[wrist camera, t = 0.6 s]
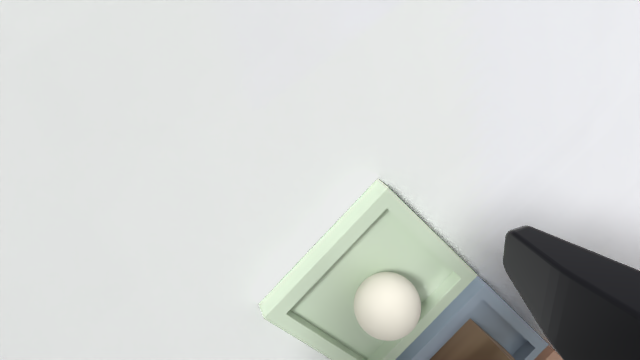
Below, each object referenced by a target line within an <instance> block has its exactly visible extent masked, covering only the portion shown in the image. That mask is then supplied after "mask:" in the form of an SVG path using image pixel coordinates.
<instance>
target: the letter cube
mask: <svg viewBox="0 0 640 360" xmlns="http://www.w3.org/2000/svg"><path fill="white" fill-rule="evenodd" d="M430 360H515V359H514V358H513V357H512V356H511V355H510V354H509V353H508V352H507V351H506V350H505V348H504V347H502V346H501V345H500V344H499V343H498V342H497V341H496V340H494V339H493V338H492V337H491V336H490V335H489V334H488V333H486V332H485V331H484V330H483V329H482V328H481V327H480V326H478V325H477V324H476V323H475V322H474V321H473V320H472V319H469V320H468V321H467V322H466V323H465V324H464V325H463V326H462V327H461V328H460V329H459V330H458V331H457V332H456V333H455V334H454V335H453V336H452V337H451V338H450V339H449V340H448V341H447V342H446V343H445V344H444V345H443V346H442V347H441V348H440V349H439V351H438V352H437V353H436V354H435V355H434V356H433V357H432V358H431V359H430Z"/></svg>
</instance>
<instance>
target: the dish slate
mask: <svg viewBox="0 0 640 360" xmlns="http://www.w3.org/2000/svg"><path fill="white" fill-rule="evenodd" d="M469 319H472V320H473V321H474V322H475V323H476V324H477V325H478V326H480V327H481V328H482V329H483V330H484V331H485V332H486V333H488V334H489V335H490V336H491V337H492V338H493V339H494V340H496V341H497V342H498V343H499V344H500V345H501V346H502V347H504V348H505V350H506V351H507V352H508V353H509V354H510V355H511V356H512V357H513V358H514V359H515V360H534V359H535V358H536V357H537V356H538V355H539V354H540V353H541V352H542V351H543V350H544V349H545V348H546V347H547V346H548V345H549V344H548V343H547V342H546V341H545V340H544V339H543V338H541V337H540V336H539V335H538V334H537V333H536V332H535V331H534V330H533V329H532V328H531V327H530V326H529V325H528V324H527V323H526V322H525V321H524V320H523V319H522V318H521V317H520V316H519V315H518V314H517V313H516V312H515V311H514V310H513V309H512V308H511V307H510V306H509V305H508V304H507V303H506V302H505V301H504V300H503V299H502V298H501V297H500V296H499V295H498V294H497V293H496V292H495V291H494V290H493V289H491V288H490V287H489V286H488V285H487V284H486V283H485V282H484V281H483V280H482V279H481V278H480V277H479V276H477V277H476V278H475V279H474V280H473V281H472V282H471V283H470V284H469V285H468V286H467V287H466V288H465V289H464V290H463V291H462V292H461V293H460V294H459V295H458V296H457V297H456V298H455V299H454V300H453V301H452V302H451V303H450V304H449V305H448V306H447V307H446V308H445V309H444V310H443V311H442V312H441V313H440V314H439V316H438V317H437V318H436V319H435V320H434V321H433V322H432V323H431V324H430V325H429V326H428V327H427V328H426V329H425V330H424V331H423V332H422V333H421V334H420V335H419V336H418V337H417V338H416V339H415V340H414V341H413V342H412V343H411V344H410V345H409V346H408V347H407V348H406V349H405V350H404V351H403V352H402V353H401V354H400V355H399V356H398V357H397V358H396V360H430V359H431V358H432V357H433V356H434V355H435V354H436V353H437V352H438V351H439V349H440V348H441V347H442V346H443V345H444V344H445V343H446V342H447V341H448V340H449V339H450V338H451V337H452V336H453V335H454V334H455V333H456V332H457V331H458V330H459V329H460V328H461V327H462V326H463V325H464V324H465V323H466V322H467V321H468V320H469Z"/></svg>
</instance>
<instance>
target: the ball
mask: <svg viewBox="0 0 640 360" xmlns="http://www.w3.org/2000/svg"><path fill="white" fill-rule="evenodd" d="M354 313H355V316H356V319H357V321H358V323H359V325H360V326H361V327H362V329H363V330H364V331H365V332H366V333H368V334H369V335H370V336H372V337H374V338H376V339H379V340H384V341H394V340H398V339H401V338H403V337H405V336H406V335H408V334H409V333H410V332H411V331H412V330H413V329H414V328H415V327H416V325H417V323H418V321H419V318H420V314H421V301H420V297H419V294H418V292H417V290H416V288H415V287H414V285H413V284H412V283H411V282H410V281H409V280H408V279H406V278H405V277H403V276H402V275H399V274H397V273H393V272H379V273H376V274H373V275H371V276H369V277H368V278H367V279H365V280H364V281H363V282H362V283H361V285H360V286H359V287H358V289H357V291H356V294H355V298H354Z"/></svg>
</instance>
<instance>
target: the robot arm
mask: <svg viewBox="0 0 640 360" xmlns="http://www.w3.org/2000/svg"><path fill="white" fill-rule="evenodd" d="M503 264H504V268H505V270H506V272H507V274H508V276H509V277H510V279H511V280H512V282H513V284H514V285H515V287H516V289H517V290H518V292H519V294H520V295H521V297H522V298H523V300H524V302H525V303H526V305H527V307H528V308H529V310H530V312H531V313H532V315H533V316H534V318H535V320H536V321H537V323H538V325H539V326H540V328H541V329H542V331H543V332H544V334H545V336H546V337H547V338H548V340H549V341H550V343H551V344H552V345H553V347H554V348H555V349H556V351H557V352H558V353H559V355H560V356H561V357H562V359H563V360H640V271H639V270H636V269H634V268H632V267H629V266H627V265H624V264H622V263H619V262H617V261H614V260H612V259H609V258H607V257H604V256H602V255H600V254H597V253H595V252H592V251H590V250H587V249H585V248H582V247H580V246H577V245H575V244H573V243H570V242H568V241H565V240H563V239H560V238H558V237H555V236H553V235H550V234H548V233H545V232H543V231H541V230H538V229H536V228H533V227H530V226H522V227H519V228H516V229H513V230H510V231H508V232H507V234H506V237H505V246H504V256H503Z"/></svg>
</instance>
